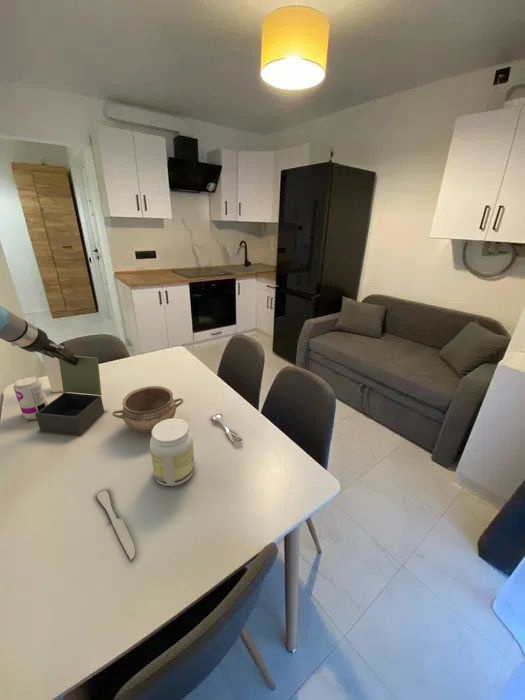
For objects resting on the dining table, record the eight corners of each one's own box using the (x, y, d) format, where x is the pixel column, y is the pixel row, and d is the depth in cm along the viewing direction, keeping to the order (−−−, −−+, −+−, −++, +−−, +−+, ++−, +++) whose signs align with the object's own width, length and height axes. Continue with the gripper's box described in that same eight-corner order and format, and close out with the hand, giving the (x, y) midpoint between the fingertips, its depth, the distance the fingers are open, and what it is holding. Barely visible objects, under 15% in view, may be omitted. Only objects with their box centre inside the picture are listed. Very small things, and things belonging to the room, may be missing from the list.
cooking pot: (116, 450, 99) (110, 420, 94) (115, 418, 114) (110, 391, 109) (189, 432, 109) (187, 404, 104) (180, 405, 124) (178, 380, 119)
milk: (57, 385, 134) (45, 341, 125) (72, 384, 136) (60, 340, 127) (51, 392, 129) (38, 347, 120) (67, 391, 130) (55, 346, 121)
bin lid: (96, 358, 110) (97, 357, 111) (58, 355, 111) (59, 354, 112) (100, 395, 114) (101, 394, 115) (63, 391, 115) (64, 391, 116)
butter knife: (106, 488, 84) (95, 494, 82) (139, 553, 68) (126, 562, 66) (107, 489, 84) (96, 495, 82) (139, 554, 68) (126, 563, 66)
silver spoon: (245, 434, 103) (234, 439, 100) (246, 442, 104) (234, 447, 102) (219, 409, 118) (208, 413, 116) (219, 416, 119) (209, 420, 117)
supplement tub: (195, 456, 98) (192, 414, 91) (193, 485, 87) (190, 441, 80) (157, 459, 96) (152, 417, 89) (151, 490, 85) (144, 445, 78)
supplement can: (26, 423, 109) (15, 389, 103) (21, 413, 114) (10, 380, 108) (52, 414, 115) (42, 381, 109) (46, 405, 120) (36, 373, 114)
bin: (81, 435, 104) (76, 417, 101) (40, 431, 105) (35, 413, 102) (104, 411, 118) (101, 395, 115) (68, 408, 119) (64, 392, 116)
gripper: (1, 346, 87) (56, 370, 109) (42, 349, 86) (89, 372, 108) (12, 323, 90) (63, 351, 112) (51, 327, 89) (95, 354, 111)
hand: (76, 362), depth 110 cm, fingers closed
